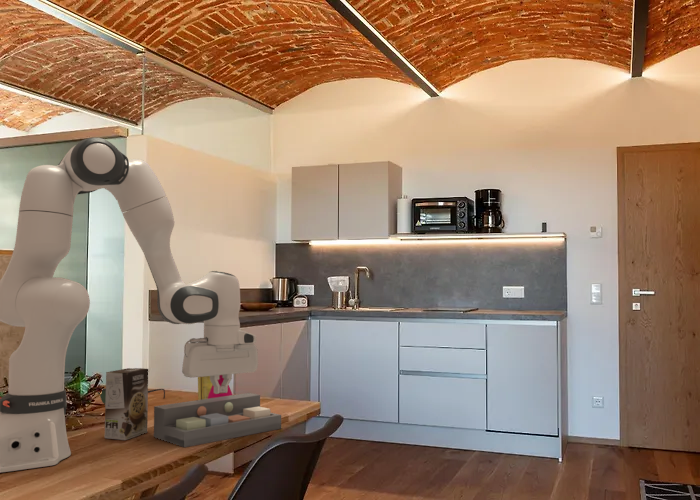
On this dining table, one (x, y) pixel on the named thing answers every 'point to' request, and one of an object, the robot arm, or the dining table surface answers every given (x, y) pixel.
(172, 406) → the keypad
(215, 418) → the key slate
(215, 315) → the robot arm
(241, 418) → the key terracotta
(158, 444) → the dining table surface
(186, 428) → the key sage
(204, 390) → the sauce bottle
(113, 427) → the cookie box
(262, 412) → the key cream
